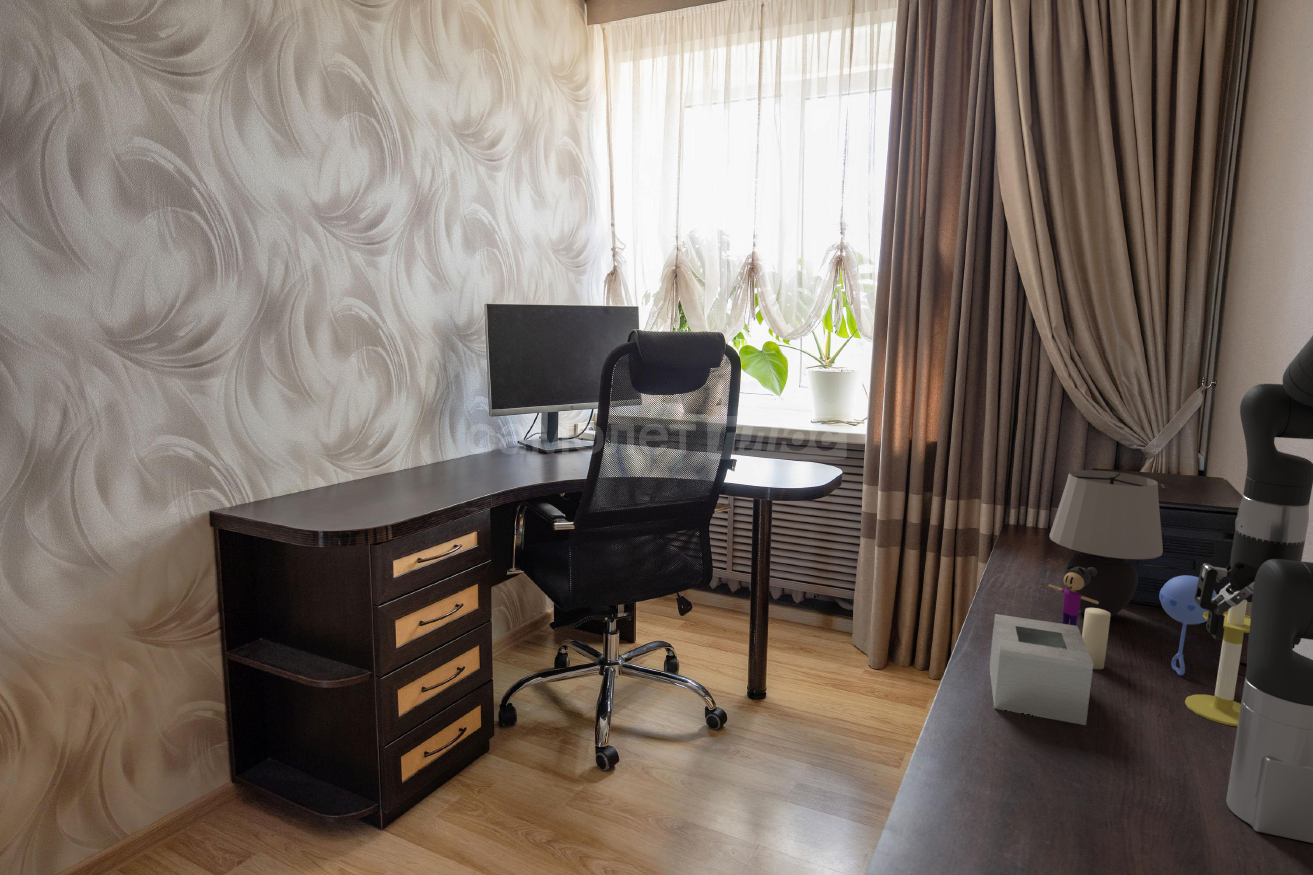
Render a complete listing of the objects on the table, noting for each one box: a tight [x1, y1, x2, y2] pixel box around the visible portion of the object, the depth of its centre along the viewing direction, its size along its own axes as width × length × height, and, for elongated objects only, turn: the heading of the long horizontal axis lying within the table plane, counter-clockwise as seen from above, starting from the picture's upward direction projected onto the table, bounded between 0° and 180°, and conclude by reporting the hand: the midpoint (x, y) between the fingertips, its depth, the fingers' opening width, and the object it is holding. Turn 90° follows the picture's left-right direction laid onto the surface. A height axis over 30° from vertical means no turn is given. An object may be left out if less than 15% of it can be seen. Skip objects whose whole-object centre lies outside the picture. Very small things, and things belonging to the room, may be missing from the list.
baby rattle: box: [1158, 575, 1218, 676], centre depth 137 cm, size 9×9×18 cm
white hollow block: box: [989, 613, 1094, 726], centre depth 128 cm, size 16×13×10 cm
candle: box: [1184, 600, 1251, 728], centre depth 123 cm, size 10×10×32 cm
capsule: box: [1081, 608, 1111, 670], centre depth 140 cm, size 4×4×10 cm
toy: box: [1047, 565, 1099, 626], centre depth 151 cm, size 10×6×15 cm, turn 27°
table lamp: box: [1049, 469, 1164, 618], centre depth 163 cm, size 21×21×30 cm
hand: (1251, 641), depth 109 cm, fingers open, 8 cm apart
